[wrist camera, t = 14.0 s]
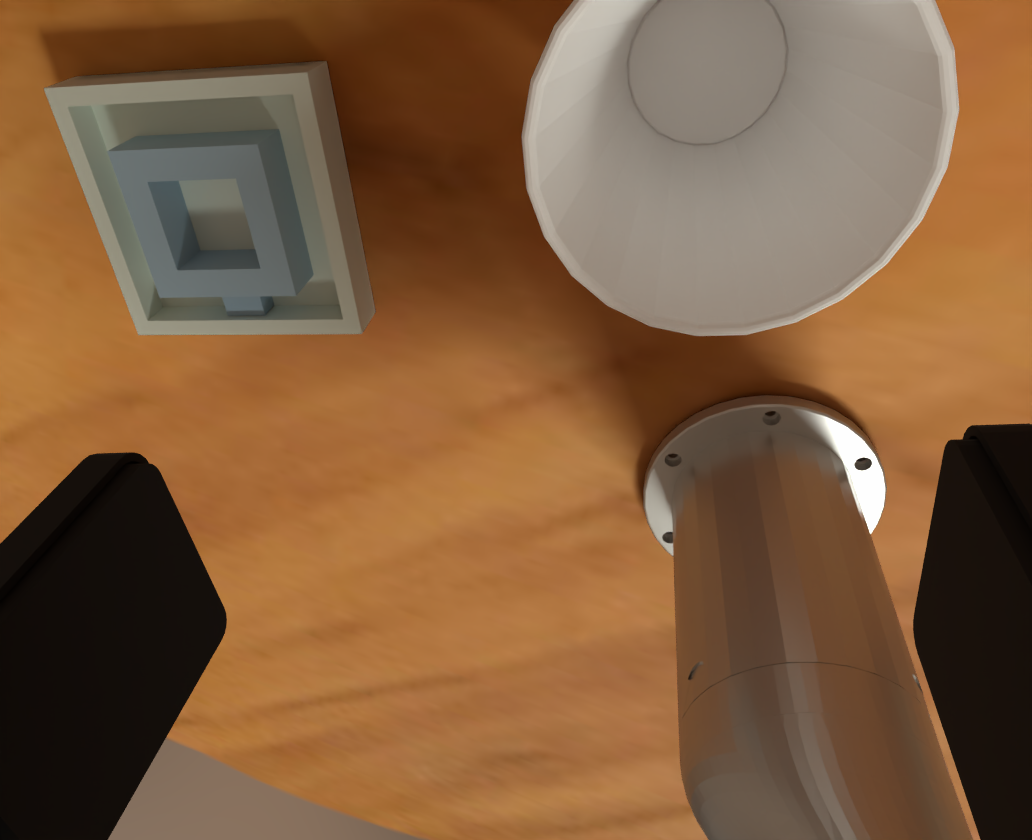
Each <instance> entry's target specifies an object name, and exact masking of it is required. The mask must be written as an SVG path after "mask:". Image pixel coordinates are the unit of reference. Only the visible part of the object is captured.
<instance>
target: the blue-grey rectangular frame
mask: <svg viewBox="0 0 1032 840" xmlns="http://www.w3.org/2000/svg"><path fill="white" fill-rule="evenodd" d="M107 152H108V155H109V158H110V161H111V164H112V166H113V169H114V172H115V175H116V177H117V180H118V183H119V186H120V189H121V191H122V194H123V197H124V200H125V203H126V205H127V208H128V211H129V214H130V216H131V219H132V222H133V225H134V228H135V230H136V233H137V236H138V239H139V241H140V244H141V247H142V250H143V253H144V255H145V258H146V261H147V264H148V267H149V269H150V272H151V275H152V278H153V280H154V283H155V286H156V289H157V292H158V294H159V297H160V298H184V297H222V299H223V302H224V305H225V309H226V312H227V315H228V316H257V315H266V314H267V313H268V311H269V310H270V309H271V308H272V307H273V306H274V302H273V298H272V296H297V294H298V293H299V292H300V291H301V290H302V288H303V287H304V286H305V285H306V284H307V282H308V281H309V280H310V279H311V278H312V276H313V275H314V274H313V269H312V265H311V261H310V257H309V253H308V248H307V244H306V240H305V236H304V232H303V227H302V223H301V219H300V215H299V210H298V206H297V202H296V198H295V194H294V189H293V185H292V181H291V177H290V173H289V168H288V164H287V160H286V156H285V152H284V147H283V143H282V139H281V135H280V131H279V129H271V130H251V131H230V132H210V133H190V134H169V135H149V136H135V137H133V138H131V139H130V140H128V141H126V142H124V143H122V144H120V145H118V146H116V147H114V148H112V149H110V150H109V151H107ZM212 179H236V181H237V185H238V189H239V192H240V196H241V199H242V203H243V207H244V210H245V214H246V218H247V221H248V225H249V228H250V232H251V236H252V239H253V243H254V247H255V249H244V250H200V247H199V244H198V241H197V238H196V234H195V231H194V228H193V225H192V222H191V219H190V215H189V212H188V209H187V206H186V203H185V200H184V197H183V193H182V190H181V187H180V184H179V181H186V180H212Z"/></svg>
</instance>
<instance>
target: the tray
mask: <svg viewBox="0 0 1032 840" xmlns="http://www.w3.org/2000/svg"><path fill="white" fill-rule="evenodd" d="M44 91H45V93H46V96H47V98H48V101H49V104H50V106H51V109H52V111H53V114H54V117H55V119H56V122H57V124H58V127H59V130H60V132H61V135H62V137H63V140H64V143H65V145H66V148H67V150H68V153H69V156H70V158H71V161H72V163H73V166H74V169H75V171H76V174H77V176H78V179H79V182H80V184H81V187H82V189H83V192H84V195H85V197H86V200H87V202H88V205H89V207H90V210H91V213H92V215H93V218H94V220H95V223H96V226H97V228H98V231H99V233H100V236H101V239H102V241H103V244H104V246H105V249H106V252H107V254H108V257H109V259H110V262H111V265H112V267H113V270H114V272H115V275H116V278H117V280H118V283H119V285H120V288H121V291H122V293H123V296H124V298H125V301H126V304H127V306H128V309H129V311H130V314H131V317H132V319H133V322H134V324H135V327H136V330H137V332H138V335H254V334H362V333H363V332H364V330H365V328H366V327H367V325H368V324H369V322H370V320H371V319H372V317H373V315H374V314H375V312H376V311H375V305H374V300H373V295H372V290H371V285H370V280H369V275H368V270H367V265H366V259H365V254H364V249H363V244H362V239H361V234H360V229H359V224H358V219H357V214H356V208H355V203H354V198H353V193H352V188H351V183H350V178H349V173H348V168H347V162H346V157H345V152H344V147H343V142H342V137H341V132H340V127H339V122H338V116H337V111H336V106H335V101H334V96H333V91H332V86H331V81H330V76H329V70H328V65H327V61H317V62H300V63H284V64H268V65H252V66H235V67H219V68H203V69H187V70H171V71H154V72H138V73H122V74H106V75H89V76H76V77H73V78H70V79H67V80H65V81H62V82H59V83H56V84H54V85H51V86H48V87H45V88H44ZM271 129H279V131H280V135H281V139H282V143H283V147H284V152H285V156H286V160H287V164H288V168H289V173H290V177H291V181H292V185H293V189H294V194H295V198H296V202H297V206H298V210H299V215H300V219H301V223H302V227H303V232H304V236H305V240H306V244H307V248H308V253H309V257H310V261H311V265H312V269H313V274H314V275H313V276H312V278H311V279H310V280H309V281H308V282H307V284H306V285H305V286H304V287H303V288H302V290H301V291H300V292H299V293H298V294H297V296H272V298H273V302H274V306H273V307H272V308H271V309H270V310H269V311H268V313H267V314H266V315H257V316H228V315H227V312H226V309H225V305H224V302H223V299H222V297H184V298H160V297H159V294H158V292H157V289H156V286H155V283H154V280H153V278H152V275H151V272H150V269H149V267H148V264H147V261H146V258H145V255H144V253H143V250H142V247H141V244H140V241H139V239H138V236H137V233H136V230H135V228H134V225H133V222H132V219H131V216H130V214H129V211H128V208H127V205H126V203H125V200H124V197H123V194H122V191H121V189H120V186H119V183H118V180H117V177H116V175H115V172H114V169H113V166H112V164H111V161H110V158H109V155H108V152H107V151H109V150H110V149H112V148H114V147H116V146H118V145H120V144H122V143H124V142H126V141H128V140H130V139H131V138H133V137H135V136H149V135H169V134H190V133H210V132H230V131H251V130H271ZM179 184H180V187H181V190H182V193H183V197H184V200H185V203H186V206H187V209H188V212H189V215H190V219H191V222H192V225H193V228H194V231H195V234H196V238H197V241H198V244H199V247H200V250H244V249H255V247H254V243H253V239H252V236H251V232H250V228H249V225H248V221H247V218H246V214H245V210H244V207H243V203H242V199H241V196H240V192H239V189H238V185H237V181H236V179H212V180H186V181H179Z"/></svg>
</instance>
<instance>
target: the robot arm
mask: <svg viewBox="0 0 1032 840" xmlns="http://www.w3.org/2000/svg"><path fill="white" fill-rule="evenodd" d="M769 411H770V412H769ZM886 490H887V486H886V480H885V474H884V469H883V466H882V464H881V461H880V459H879V456H878V453H877V451H876V449H875V448H874V446H873V445H872V443H871V441H870V440H869V438H868V437H867V435H866V434H865V433H864V432H863V431H862V430H861V429H860V428H859V427H858V426H857V425H856V424H855V423H854V422H853V421H851V420H849V419H848V418H846V417H845V416H843V415H842V414H840V413H838V412H837V411H835V410H834V409H831V408H828V407H826V406H823V405H821V404H818V403H816V402H813V401H809V400H804V399H800V398H795V397H790V396H771V395H762V396H753V397H744V398H738V399H734V400H730V401H727V402H723V403H719V404H716V405H714V406H712V407H709V408H707V409H705V410H703V411H700V412H698V413H696V414H694V415H693V416H691V417H690V418H688V419H687V420H685V421H684V422H682V423H681V424H679V425H678V426H677V427H676V428H675V429H674V430H673V431H672V432H671V433H670V434H669V435H667V436H666V437H665V438H664V439H663V441H662V442H661V443H660V445H659V446H658V448H657V449H656V451H655V452H654V454H653V455H652V457H651V460H650V462H649V465H648V468H647V470H646V473H645V480H644V488H643V496H644V510H645V514H646V519H647V523H648V525H649V527H650V529H651V531H652V533H653V534H654V536H655V538H656V539H657V541H658V542H659V543H660V544H661V545H662V547H663V548H664V549H665V550H666V551H667V552H668V553H669V554H670V555H672V556H673V557H674V590H675V623H676V657H677V690H678V723H679V748H680V767H681V775H682V781H683V785H684V789H685V793H686V796H687V799H688V802H689V804H690V806H691V809H692V811H693V813H694V816H695V818H696V820H697V822H698V824H699V825H700V827H701V828H702V830H703V832H704V833H705V835H706V836H707V838H708V839H709V840H973V838H972V835H971V833H970V830H969V827H968V824H967V822H966V819H965V816H964V813H963V811H962V808H961V805H960V802H959V800H958V797H957V794H956V791H955V789H954V786H953V783H952V780H951V778H950V775H949V772H948V769H947V766H946V763H945V760H944V757H943V754H942V751H941V748H940V745H939V742H938V739H937V736H936V733H935V730H934V727H933V724H932V721H931V718H930V715H929V712H928V708H927V705H926V702H925V699H924V696H923V692H922V689H921V686H920V683H919V680H918V677H917V674H916V671H915V668H914V665H913V662H912V659H911V656H910V653H909V650H908V647H907V644H906V641H905V638H904V635H903V632H902V629H901V626H900V623H899V620H898V617H897V614H896V611H895V608H894V605H893V602H892V599H891V595H890V592H889V589H888V586H887V583H886V580H885V577H884V574H883V571H882V568H881V565H880V562H879V559H878V556H877V553H876V549H875V546H874V543H873V540H872V537H871V533H872V532H873V530H874V529H875V527H876V526H877V524H878V523H879V520H880V517H881V515H882V512H883V509H884V506H885V500H886ZM226 622H227V619H226V612H225V609H224V606H223V604H222V602H221V600H220V598H219V596H218V594H217V592H216V589H215V587H214V585H213V583H212V581H211V579H210V577H209V575H208V572H207V570H206V568H205V566H204V564H203V562H202V560H201V558H200V556H199V553H198V551H197V549H196V547H195V545H194V543H193V541H192V539H191V536H190V534H189V532H188V530H187V528H186V526H185V524H184V522H183V520H182V517H181V515H180V513H179V511H178V509H177V507H176V505H175V503H174V500H173V498H172V496H171V494H170V492H169V490H168V488H167V486H166V484H165V481H164V479H163V477H162V475H161V473H160V471H159V470H158V468H157V467H155V466H154V465H153V464H149V463H148V461H147V460H146V458H144V457H143V456H142V455H140V454H137V453H102V454H93V455H89V456H88V457H87V458H85V459H84V460H83V461H82V462H81V463H80V464H79V465H78V466H77V467H76V468H75V469H74V470H73V471H72V472H71V473H70V474H69V475H68V476H67V477H66V478H65V479H64V480H63V481H62V482H61V483H60V484H59V485H58V486H57V487H56V488H55V489H54V490H53V491H52V492H51V493H50V494H49V495H48V496H47V497H46V498H45V499H44V500H43V501H42V502H41V503H40V504H39V505H38V506H37V507H36V508H35V509H34V510H33V511H32V512H31V513H30V514H29V515H28V516H27V517H26V518H25V519H24V520H23V521H22V522H21V523H20V524H19V525H18V526H17V528H16V529H15V530H14V531H13V532H12V533H11V534H10V535H9V536H8V537H7V538H6V539H5V540H4V541H3V542H2V543H1V544H0V840H108V838H109V836H110V835H111V833H112V831H113V829H114V828H115V826H116V824H117V822H118V820H119V819H120V817H121V815H122V814H123V812H124V810H125V808H126V807H127V805H128V803H129V801H130V800H131V798H132V796H133V794H134V792H135V791H136V789H137V787H138V785H139V784H140V782H141V780H142V779H143V777H144V775H145V773H146V771H147V770H148V768H149V766H150V765H151V763H152V761H153V759H154V758H155V756H156V754H157V752H158V750H159V749H160V747H161V745H162V743H163V742H164V740H165V738H166V737H167V735H168V733H169V731H170V730H171V728H172V726H173V724H174V722H175V721H176V719H177V717H178V715H179V714H180V712H181V710H182V708H183V707H184V705H185V703H186V701H187V700H188V698H189V696H190V694H191V693H192V691H193V689H194V687H195V686H196V684H197V682H198V680H199V679H200V677H201V675H202V673H203V672H204V670H205V668H206V666H207V665H208V663H209V661H210V659H211V658H212V656H213V654H214V652H215V651H216V649H217V647H218V645H219V644H220V642H221V640H222V638H223V636H224V634H225V629H226ZM913 630H914V639H915V645H916V649H917V653H918V655H919V658H920V661H921V664H922V667H923V670H924V673H925V676H926V679H927V682H928V685H929V688H930V691H931V694H932V697H933V700H934V703H935V706H936V709H937V712H938V715H939V718H940V721H941V724H942V727H943V730H944V732H945V735H946V738H947V741H948V744H949V747H950V750H951V753H952V756H953V759H954V762H955V765H956V768H957V771H958V774H959V777H960V780H961V783H962V786H963V789H964V792H965V795H966V798H967V801H968V804H969V806H970V809H971V812H972V815H973V818H974V821H975V824H976V827H977V830H978V833H979V836H980V839H981V840H1032V425H1031V424H1003V425H972V426H970V427H969V428H968V429H967V430H966V432H965V433H964V437H963V440H950V441H948V442H947V444H946V446H945V450H944V454H943V459H942V465H941V470H940V476H939V481H938V486H937V492H936V497H935V503H934V508H933V514H932V519H931V525H930V530H929V536H928V541H927V547H926V552H925V558H924V563H923V569H922V574H921V580H920V585H919V591H918V596H917V601H916V607H915V612H914V620H913Z"/></svg>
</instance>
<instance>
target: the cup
mask: <svg viewBox="0 0 1032 840" xmlns="http://www.w3.org/2000/svg"><path fill="white" fill-rule="evenodd" d="M958 112H959V100H958V88H957V75H956V63H955V51H954V46H953V43H952V41H951V38H950V36H949V33H948V31H947V29H946V26H945V24H944V21H943V19H942V16H941V14H940V11H939V9H938V6H937V4H936V1H935V0H574V1H573V2H572V3H571V4H570V6H569V7H568V8H567V10H566V11H565V12H564V13H563V15H562V16H561V17H560V19H559V20H558V21H557V23H556V24H555V25H554V27H553V30H552V32H551V34H550V37H549V39H548V41H547V44H546V46H545V48H544V50H543V53H542V55H541V57H540V60H539V62H538V64H537V67H536V69H535V71H534V73H533V76H532V78H531V80H530V87H529V93H528V99H527V105H526V111H525V117H524V124H523V130H522V147H523V158H524V168H525V179H526V189H527V192H528V194H529V197H530V200H531V203H532V205H533V208H534V211H535V213H536V216H537V219H538V222H539V224H540V227H541V230H542V233H543V235H544V237H545V239H546V240H547V242H548V243H549V244H550V246H551V247H552V249H553V250H554V252H555V253H556V254H557V256H558V257H559V259H560V260H561V261H562V263H563V264H564V266H565V267H566V269H567V270H568V271H569V273H570V274H571V276H572V277H574V278H575V279H576V280H577V281H578V282H580V283H581V284H582V285H583V286H584V287H585V288H587V289H588V290H589V291H590V292H591V293H593V294H594V295H595V296H596V297H597V298H599V299H600V300H601V301H602V302H603V303H604V304H606V305H607V306H609V307H611V308H613V309H615V310H617V311H619V312H621V313H623V314H625V315H627V316H629V317H631V318H633V319H636V320H638V321H640V322H642V323H644V324H646V325H648V326H651V327H655V328H660V329H665V330H670V331H674V332H679V333H684V334H689V335H693V336H724V335H748V334H752V333H756V332H760V331H764V330H768V329H772V328H776V327H780V326H784V325H788V324H792V323H796V322H798V321H800V320H802V319H804V318H806V317H808V316H810V315H812V314H814V313H816V312H818V311H820V310H822V309H824V308H826V307H828V306H830V305H832V304H834V303H836V302H838V301H840V300H842V299H844V298H845V297H846V296H848V295H849V294H850V293H851V292H853V291H854V290H855V289H856V288H858V287H859V286H860V285H861V284H863V283H864V282H865V281H866V280H868V279H869V278H870V277H871V276H873V275H874V274H875V273H876V272H878V271H879V270H880V269H881V268H883V267H884V266H885V265H886V264H887V263H888V262H889V261H890V259H891V258H892V257H893V256H894V254H895V253H896V252H897V251H898V250H899V248H900V247H901V246H902V245H903V243H904V242H905V241H906V240H907V238H908V237H909V236H910V235H911V233H912V232H913V231H914V230H915V228H916V227H917V226H918V225H919V223H920V222H921V221H922V220H923V217H924V215H925V213H926V211H927V209H928V207H929V205H930V203H931V201H932V199H933V197H934V194H935V192H936V190H937V188H938V186H939V184H940V182H941V180H942V178H943V176H944V174H945V172H946V169H947V167H948V163H949V158H950V153H951V148H952V143H953V137H954V132H955V127H956V122H957V117H958Z"/></svg>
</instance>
